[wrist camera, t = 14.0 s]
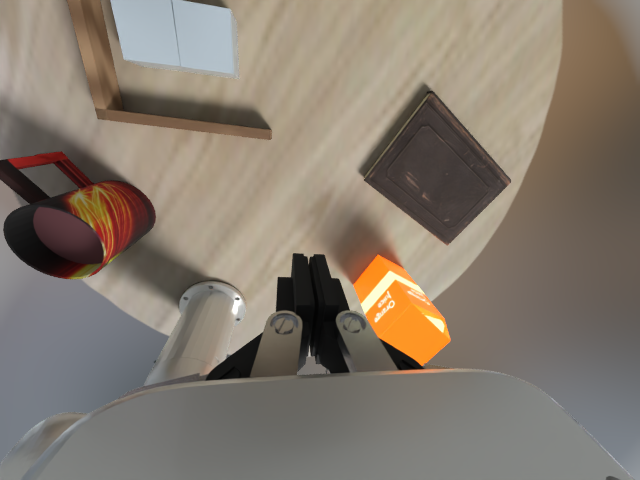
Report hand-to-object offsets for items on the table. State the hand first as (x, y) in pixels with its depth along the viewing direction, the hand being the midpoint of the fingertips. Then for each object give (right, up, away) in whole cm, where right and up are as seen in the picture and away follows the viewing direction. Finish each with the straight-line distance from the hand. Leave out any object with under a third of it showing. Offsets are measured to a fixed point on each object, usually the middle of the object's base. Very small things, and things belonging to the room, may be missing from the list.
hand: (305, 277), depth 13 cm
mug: (-33, +8, +24) cm, 42 cm away
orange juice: (+13, -6, +38) cm, 41 cm away
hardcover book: (+22, +14, +30) cm, 40 cm away
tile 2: (-19, +27, +17) cm, 37 cm away
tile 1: (-13, +27, +18) cm, 35 cm away
